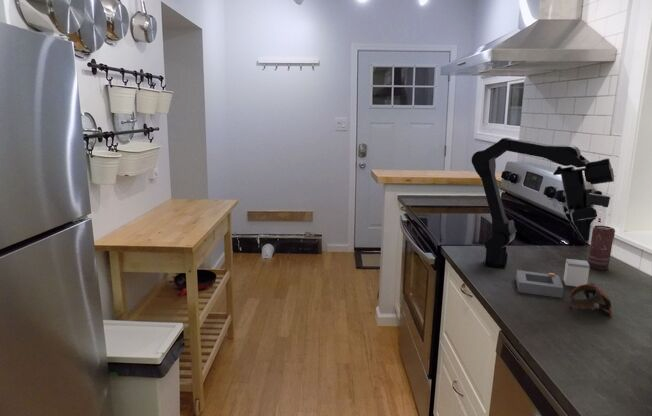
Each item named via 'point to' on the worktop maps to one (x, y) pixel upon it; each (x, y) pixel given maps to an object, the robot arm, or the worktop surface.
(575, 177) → the robot arm
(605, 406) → the worktop surface
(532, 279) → the socket block
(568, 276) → the plug
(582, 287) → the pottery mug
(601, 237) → the can
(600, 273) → the worktop surface
